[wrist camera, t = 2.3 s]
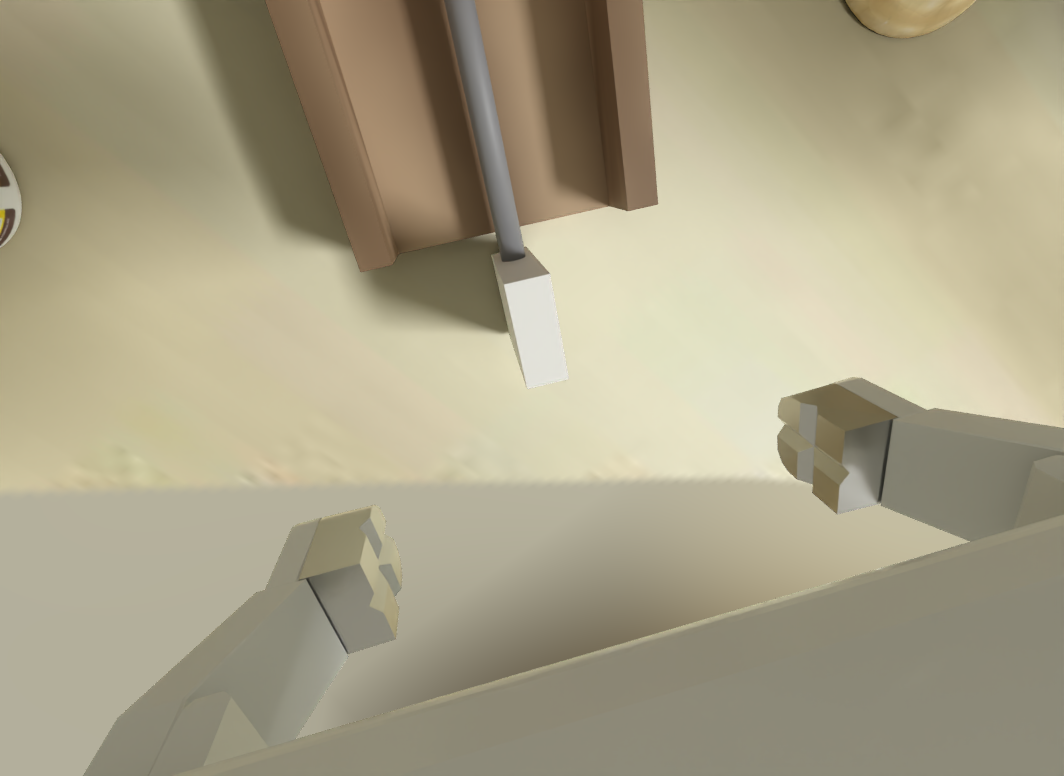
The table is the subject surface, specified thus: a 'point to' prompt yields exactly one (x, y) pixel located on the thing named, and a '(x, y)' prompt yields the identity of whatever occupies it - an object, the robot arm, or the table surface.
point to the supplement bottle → (8, 203)
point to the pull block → (507, 216)
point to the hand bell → (907, 15)
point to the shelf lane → (443, 118)
